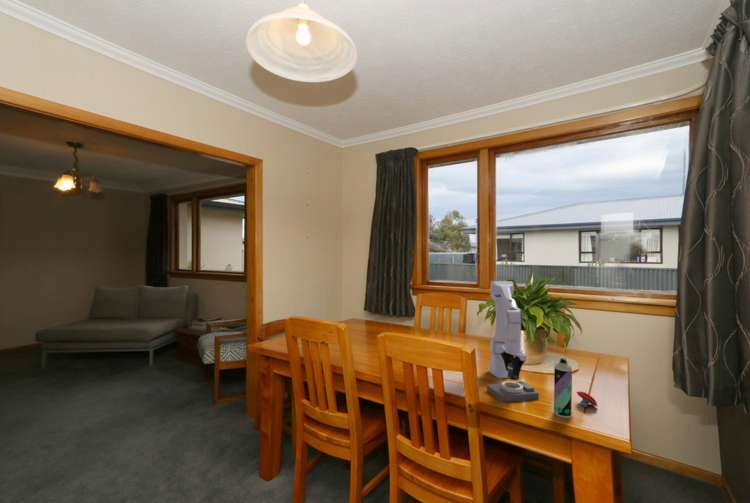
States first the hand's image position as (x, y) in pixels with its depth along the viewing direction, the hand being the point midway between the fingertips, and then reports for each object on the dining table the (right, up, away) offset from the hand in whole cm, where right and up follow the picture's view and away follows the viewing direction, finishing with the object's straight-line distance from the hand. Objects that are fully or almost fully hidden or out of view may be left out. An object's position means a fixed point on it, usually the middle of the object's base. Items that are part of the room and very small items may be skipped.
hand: (512, 372), depth 136 cm
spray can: (+11, -9, -16) cm, 22 cm away
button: (+24, -10, -9) cm, 28 cm away
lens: (0, -2, 0) cm, 2 cm away
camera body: (0, -9, 0) cm, 9 cm away
